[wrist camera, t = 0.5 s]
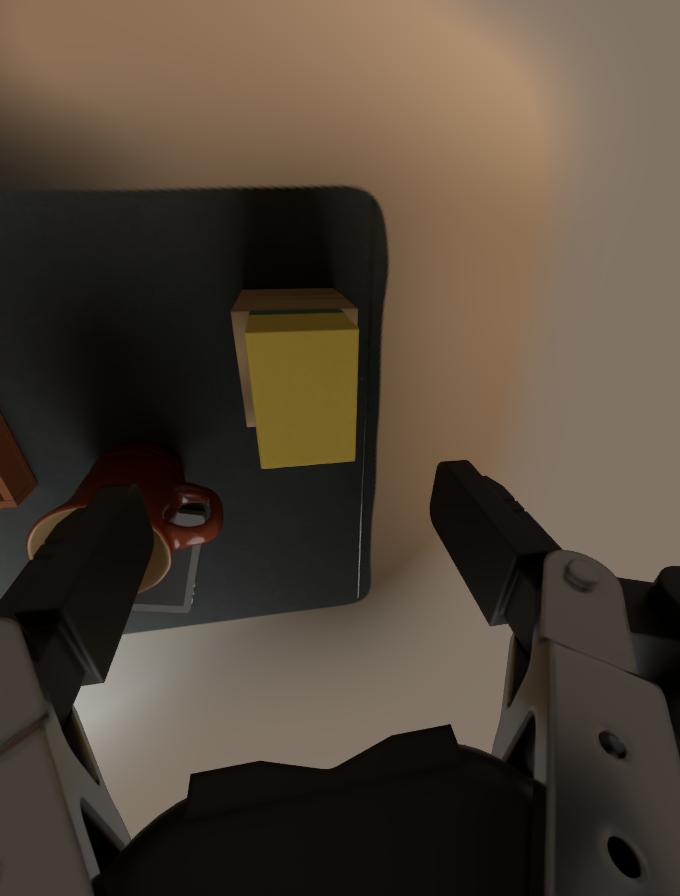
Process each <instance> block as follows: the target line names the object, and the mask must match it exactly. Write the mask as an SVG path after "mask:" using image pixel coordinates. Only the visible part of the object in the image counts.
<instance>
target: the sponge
mask: <svg viewBox="0 0 680 896" xmlns="http://www.w3.org/2000/svg"><path fill="white" fill-rule="evenodd" d="M244 339H245V346H246V354H247V362H248V370H249V377H250V385H251V393H252V401H253V409H254V416H255V424H256V432H257V440H258V447H259V455H260V463H261V468H262V469H267V468H279V467H290V466H302V465H313V464H325V463H336V462H348V461H355V448H356V413H357V378H358V343H359V329H358V327H357V326H356V325H355V324H354V323H353V322H352V321H351V320H350V319H349V318H348V317H347V316H346V315H345V313H344V312H343V311H342V310H341V309H304V310H265V311H250V312H249V315H248V320H247V324H246V328H245V331H244Z"/></svg>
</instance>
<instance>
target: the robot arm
mask: <svg viewBox="0 0 680 896" xmlns="http://www.w3.org/2000/svg"><path fill="white" fill-rule="evenodd" d="M430 516H431V521H432V524H433V526H434V528H435V530H436V532H437V533H438V535H439V537H440V539H441V540H442V542H443V544H444V546H445V548H446V549H447V551H448V552H449V555H450V556H451V558H452V560H453V562H454V563H455V565H456V567H457V569H458V570H459V572H460V574H461V576H462V578H463V579H464V581H465V583H466V585H467V587H468V588H469V590H470V592H471V594H472V595H473V597H474V599H475V600H476V602H477V604H478V606H479V608H480V610H481V611H482V613H483V615H484V616H485V618H486V620H487V622H488V624H489V625H490V626H496V625H502V624H509V626H510V627H511V629H512V631H513V634H512V637H511V639H510V647H509V654H508V663H507V670H506V678H505V686H504V694H503V703H502V711H501V717H500V722H499V726H498V730H497V733H496V736H495V740H494V744H493V749H492V754H489V753H487V752H484V751H482V750H480V749H476V748H473V747H469V746H466V745H461V744H458V743H457V740H456V738H455V735H454V732H453V730H452V727H451V725H450V724H449V725H444V726H438V727H434V728H428V729H423V730H418V731H412V732H407V733H402V734H397V735H392V736H390V737H388V738H386V739H385V740H383V741H381V742H379V743H378V744H376V745H374V746H372V747H370V748H369V749H367V750H365V751H363V752H362V753H360V754H358V755H356V756H355V757H353V758H351V759H349V760H347V761H346V762H344V763H342V764H340V765H338V766H337V767H334V768H331V769H318V768H310V767H302V766H296V765H288V764H280V763H273V762H265V761H256V762H251V763H246V764H241V765H235V766H230V767H225V768H220V769H215V770H210V771H204V772H199V773H194V774H191V775H190V782H189V789H188V795H187V798H186V799H184V800H182V801H180V802H178V803H177V804H175V805H174V806H172V807H171V808H169V809H168V810H166V811H165V812H163V813H162V814H160V815H159V816H158V817H157V818H156V819H154V820H153V821H152V822H151V823H150V824H149V825H148V826H146V827H145V828H144V829H143V830H141V831H140V832H139V833H138V834H137V835H136V836H135V837H134V838H133V839H132V840H131V838H130V835H129V833H128V831H127V829H126V826H125V824H124V822H123V820H122V818H121V816H120V814H119V812H118V810H117V809H116V807H115V805H114V803H113V801H112V799H111V797H110V795H109V793H108V790H107V788H106V785H105V783H104V781H103V778H102V775H101V773H100V770H99V767H98V765H97V762H96V760H95V757H94V755H93V752H92V749H91V747H90V744H89V742H88V739H87V736H86V734H85V731H84V728H83V726H82V723H81V721H80V718H79V716H78V713H77V711H76V709H75V707H74V705H73V704H74V701H75V699H76V697H77V694H78V692H79V690H80V687H81V686H84V685H91V684H98V683H104V682H105V679H106V676H107V674H108V671H109V668H110V665H111V663H112V660H113V658H114V655H115V652H116V649H117V647H118V644H119V641H120V639H121V636H122V633H123V631H124V628H125V625H126V623H127V620H128V617H129V615H130V612H131V609H132V607H133V604H134V601H135V598H136V596H137V593H138V590H139V588H140V585H141V582H142V580H143V577H144V574H145V572H146V569H147V566H148V564H149V561H150V558H151V555H152V552H153V547H154V533H153V528H152V525H151V522H150V519H149V516H148V512H147V509H146V506H145V503H144V500H143V497H142V493H141V490H140V488H139V486H138V485H137V484H121V485H108V486H101V487H99V488H98V490H97V491H96V493H95V494H94V496H93V497H92V498H91V500H90V501H89V503H88V504H87V506H86V507H85V508H77V509H76V510H74V511H73V512H72V513H70V514H69V515H68V516H66V517H65V518H64V519H62V520H61V521H60V522H58V523H57V524H56V526H55V527H54V528H53V530H52V531H51V532H50V534H49V535H48V536H47V538H46V539H45V541H44V544H42V545H41V546H40V547H39V549H38V550H37V551H36V553H35V554H34V555H33V559H32V560H30V561H29V562H28V563H27V565H26V566H25V567H24V569H23V570H22V571H21V573H20V574H19V576H18V577H17V578H16V580H15V581H14V582H13V584H12V585H11V586H10V588H9V589H8V590H7V592H6V593H5V594H4V596H3V597H2V598H1V600H0V896H680V566H670V567H666V568H664V569H663V570H661V572H660V573H659V575H658V576H657V578H656V579H655V581H654V582H653V583H651V582H645V581H637V580H631V579H624V578H618V577H616V576H615V575H614V574H613V573H612V572H611V571H610V570H609V569H608V568H607V567H605V566H604V565H603V564H601V563H600V562H598V561H596V560H595V559H593V558H591V557H588V556H587V555H584V554H581V553H578V552H574V551H568V550H562V549H561V547H560V546H559V545H558V544H557V543H556V542H555V541H554V540H553V539H552V538H551V537H550V536H549V535H548V534H547V533H546V531H544V529H543V528H542V527H541V526H540V525H539V524H538V523H537V522H536V521H535V520H534V519H533V518H532V516H531V515H530V514H529V513H528V512H525V511H524V508H523V507H522V506H521V505H520V504H519V503H518V501H515V499H514V497H513V496H512V495H511V494H510V493H509V492H508V491H507V490H506V489H505V488H504V487H503V486H502V485H500V484H499V483H497V482H496V481H494V480H492V479H491V478H489V477H487V476H482V475H481V474H480V473H479V472H478V471H477V470H476V468H475V467H474V466H473V465H472V464H471V463H470V462H469V461H467V460H459V461H445V462H440V463H439V464H438V466H437V470H436V474H435V480H434V485H433V491H432V496H431V501H430Z"/></svg>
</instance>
